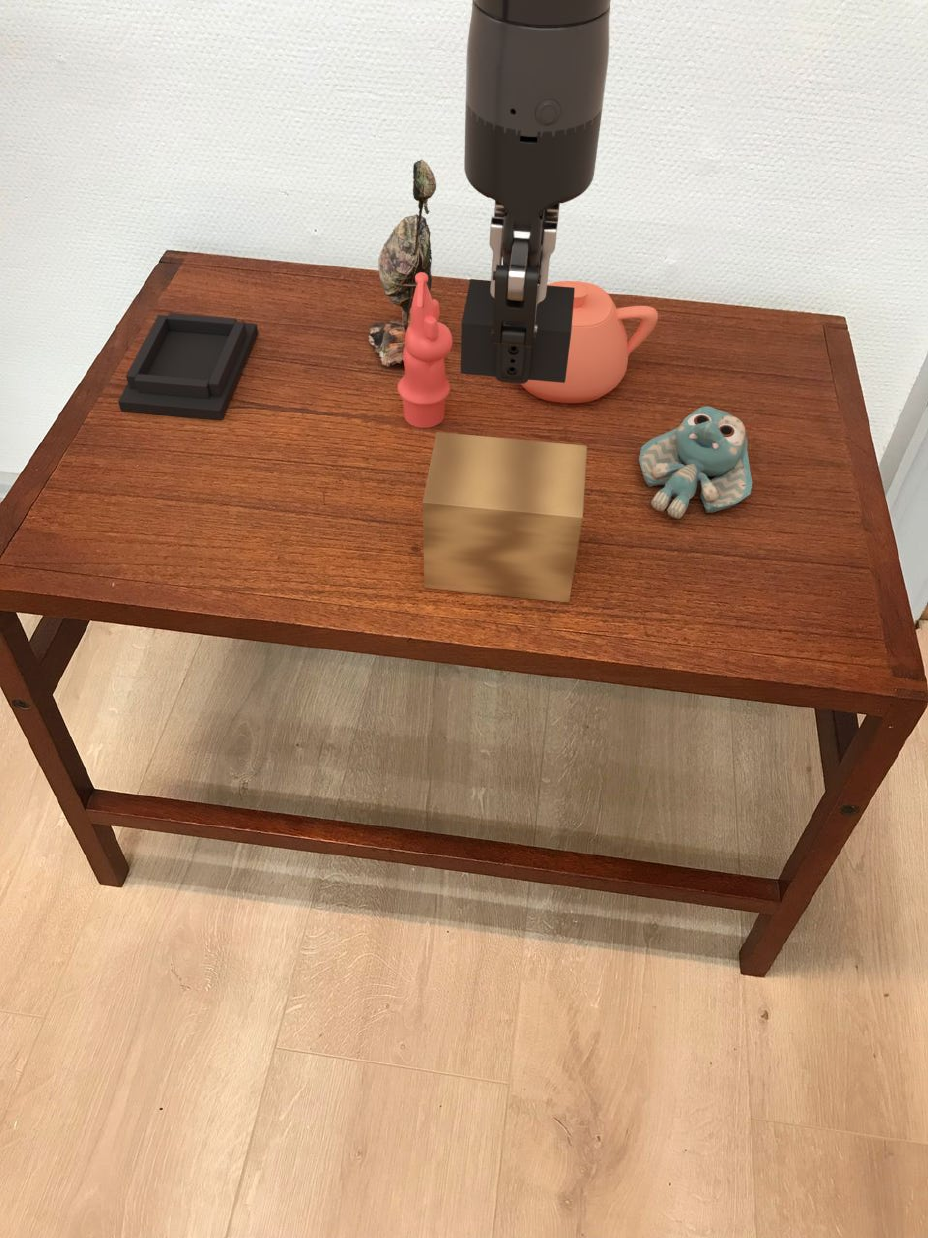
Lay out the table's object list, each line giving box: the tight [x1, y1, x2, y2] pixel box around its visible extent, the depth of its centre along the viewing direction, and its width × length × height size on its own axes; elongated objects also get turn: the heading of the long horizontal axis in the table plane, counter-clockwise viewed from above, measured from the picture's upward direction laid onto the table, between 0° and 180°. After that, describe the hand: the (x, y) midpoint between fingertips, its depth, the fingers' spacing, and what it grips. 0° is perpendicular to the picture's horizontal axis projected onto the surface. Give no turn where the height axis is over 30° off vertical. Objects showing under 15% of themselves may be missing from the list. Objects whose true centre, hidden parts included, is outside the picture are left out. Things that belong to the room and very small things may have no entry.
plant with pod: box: [368, 159, 437, 367], centre depth 94 cm, size 8×11×20 cm
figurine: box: [397, 272, 454, 429], centre depth 88 cm, size 5×5×15 cm
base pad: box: [117, 312, 259, 421], centre depth 97 cm, size 14×10×3 cm
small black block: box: [460, 278, 575, 383], centre depth 65 cm, size 7×5×4 cm
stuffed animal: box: [638, 406, 753, 520], centre depth 86 cm, size 11×7×12 cm
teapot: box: [520, 280, 659, 404], centre depth 95 cm, size 12×18×10 cm
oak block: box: [421, 431, 588, 603], centre depth 79 cm, size 12×8×10 cm, turn 83°
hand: (515, 353), depth 66 cm, fingers closed on small black block, 5 cm apart
